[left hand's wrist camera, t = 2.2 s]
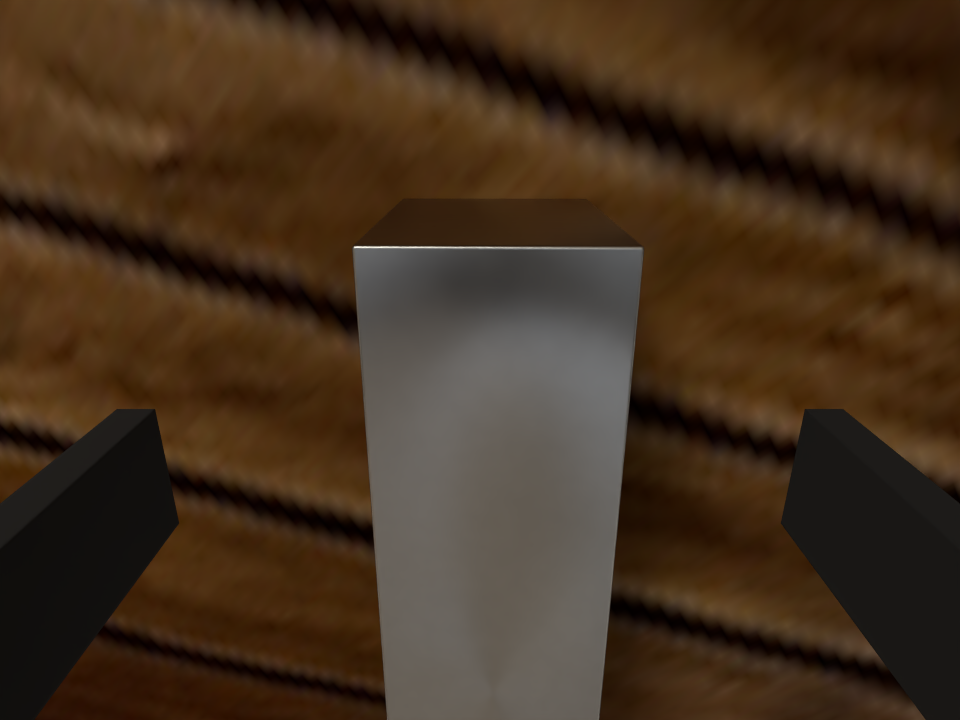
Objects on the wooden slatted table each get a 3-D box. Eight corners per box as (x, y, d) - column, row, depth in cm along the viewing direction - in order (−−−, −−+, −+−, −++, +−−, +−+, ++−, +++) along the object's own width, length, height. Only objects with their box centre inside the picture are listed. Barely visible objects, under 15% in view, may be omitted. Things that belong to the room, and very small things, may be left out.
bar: (401, 198, 20) (351, 245, 13) (587, 198, 20) (645, 246, 13) (425, 740, 29) (404, 954, 21) (554, 742, 29) (577, 957, 21)
